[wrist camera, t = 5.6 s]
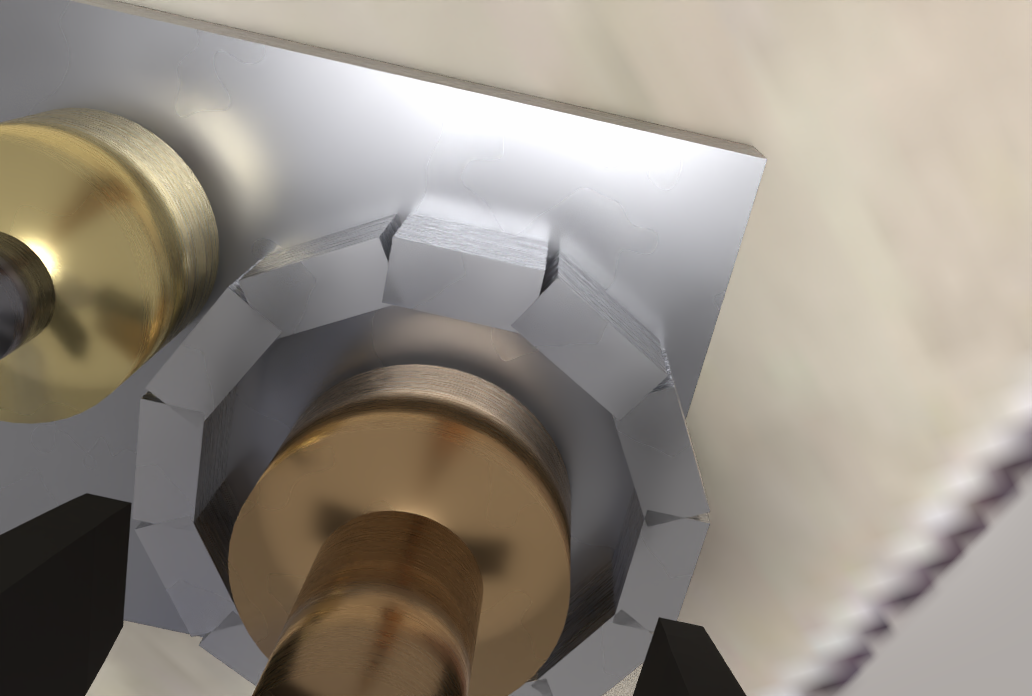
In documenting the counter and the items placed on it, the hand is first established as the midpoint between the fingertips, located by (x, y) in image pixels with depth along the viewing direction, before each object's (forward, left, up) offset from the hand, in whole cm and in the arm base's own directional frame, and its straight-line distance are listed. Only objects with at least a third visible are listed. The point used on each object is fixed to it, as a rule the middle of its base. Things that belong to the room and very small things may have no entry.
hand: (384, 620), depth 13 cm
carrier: (+1, +2, -5) cm, 6 cm away
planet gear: (0, 0, -4) cm, 4 cm away
